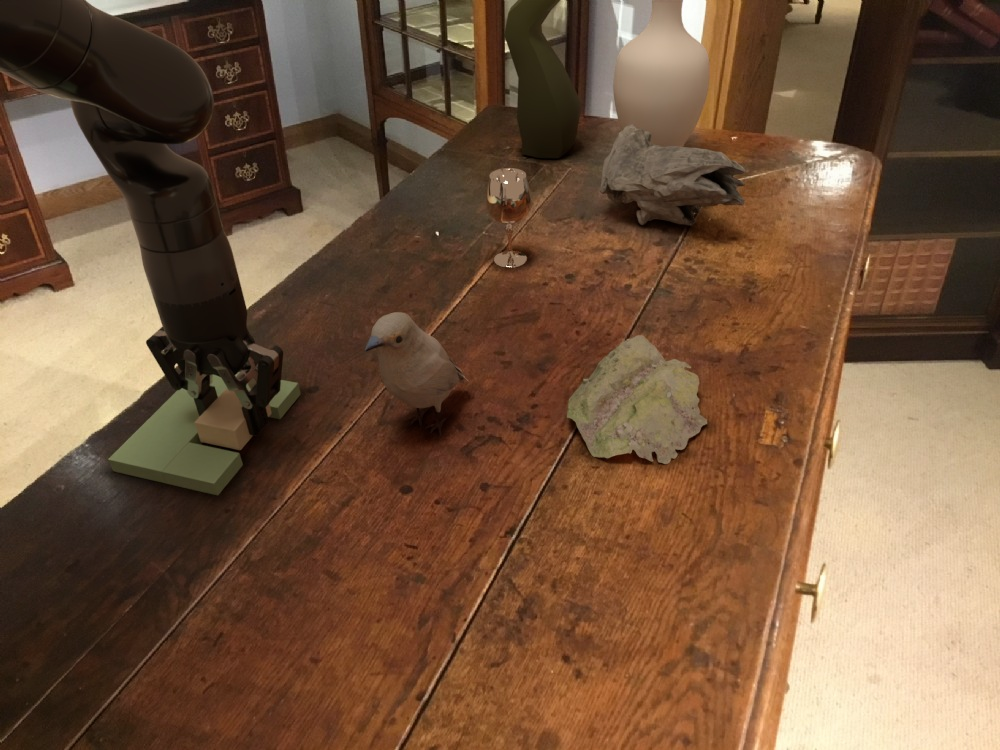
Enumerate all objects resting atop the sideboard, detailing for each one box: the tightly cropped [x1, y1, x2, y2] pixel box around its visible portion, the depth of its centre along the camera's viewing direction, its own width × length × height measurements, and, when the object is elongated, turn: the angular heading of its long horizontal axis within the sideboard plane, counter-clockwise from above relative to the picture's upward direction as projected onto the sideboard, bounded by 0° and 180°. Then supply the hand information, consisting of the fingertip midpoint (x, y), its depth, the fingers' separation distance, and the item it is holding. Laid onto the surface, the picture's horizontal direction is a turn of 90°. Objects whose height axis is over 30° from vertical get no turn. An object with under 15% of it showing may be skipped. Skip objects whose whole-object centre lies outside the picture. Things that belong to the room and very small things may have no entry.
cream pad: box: [195, 388, 272, 451], centre depth 85 cm, size 6×5×3 cm
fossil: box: [599, 125, 746, 227], centre depth 119 cm, size 20×18×15 cm
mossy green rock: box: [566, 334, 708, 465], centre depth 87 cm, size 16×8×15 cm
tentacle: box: [503, 0, 583, 159], centre depth 135 cm, size 9×12×30 cm
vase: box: [612, 0, 711, 147], centre depth 129 cm, size 14×14×28 cm
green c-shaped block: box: [107, 371, 302, 496], centre depth 87 cm, size 16×12×2 cm
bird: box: [363, 311, 470, 436], centre depth 83 cm, size 5×14×15 cm, turn 145°
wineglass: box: [485, 167, 532, 269], centre depth 111 cm, size 6×6×12 cm
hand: (236, 425), depth 86 cm, fingers closed on cream pad, 4 cm apart
